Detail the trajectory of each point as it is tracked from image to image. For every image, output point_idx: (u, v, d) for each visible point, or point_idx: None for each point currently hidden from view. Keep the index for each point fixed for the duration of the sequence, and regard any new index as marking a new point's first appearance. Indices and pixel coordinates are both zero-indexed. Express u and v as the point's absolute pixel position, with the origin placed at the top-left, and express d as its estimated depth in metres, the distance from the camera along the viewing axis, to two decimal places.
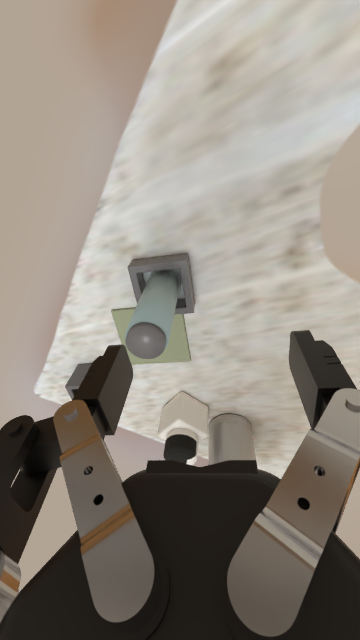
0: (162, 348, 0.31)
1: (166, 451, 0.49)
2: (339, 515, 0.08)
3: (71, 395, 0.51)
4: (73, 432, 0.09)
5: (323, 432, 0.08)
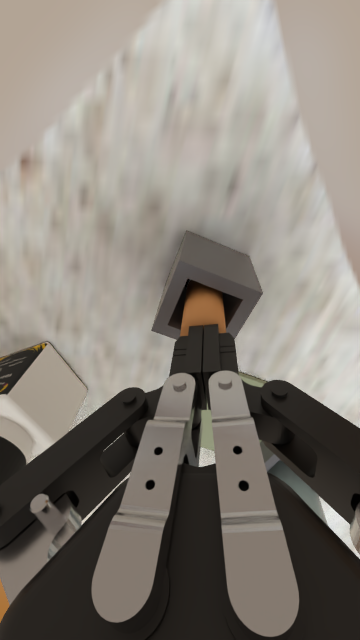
0: None
1: None
2: None
3: (221, 283, 0.15)
4: (191, 401, 0.10)
5: (219, 418, 0.09)
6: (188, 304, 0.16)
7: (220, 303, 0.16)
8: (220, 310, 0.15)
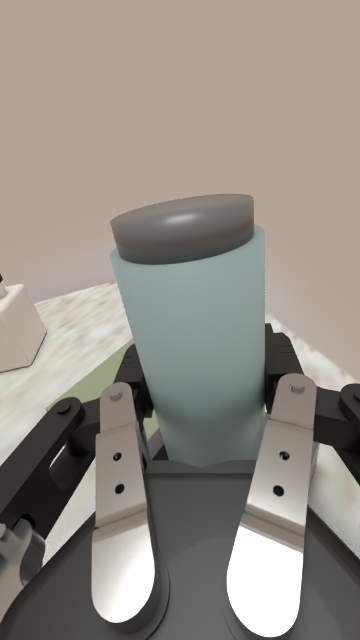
0: (123, 224, 0.08)
1: None
2: None
3: None
4: (122, 411, 0.10)
5: (278, 419, 0.08)
6: None
7: None
8: None
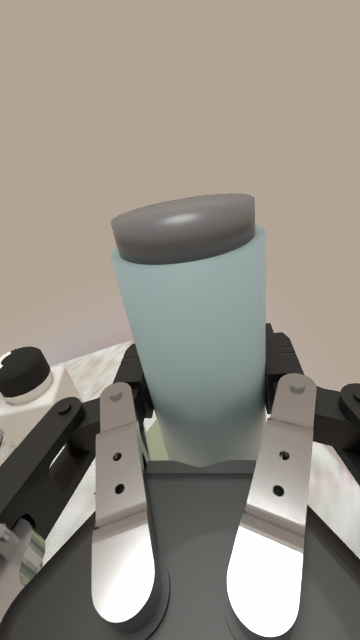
0: (123, 223, 0.08)
1: (39, 355, 0.33)
2: None
3: None
4: (122, 411, 0.10)
5: (278, 419, 0.08)
6: None
7: None
8: None
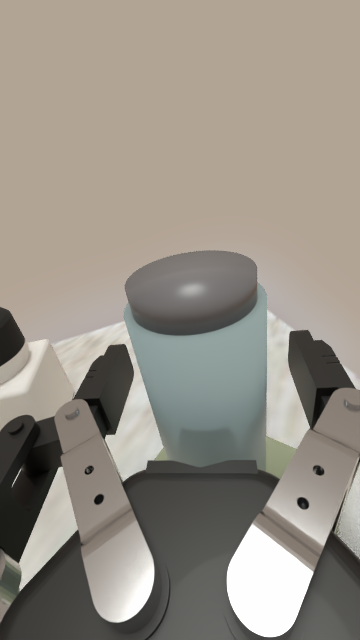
0: (137, 295, 0.09)
1: (6, 317, 0.21)
2: (338, 514, 0.08)
3: None
4: (74, 431, 0.09)
5: (322, 432, 0.08)
6: None
7: None
8: None
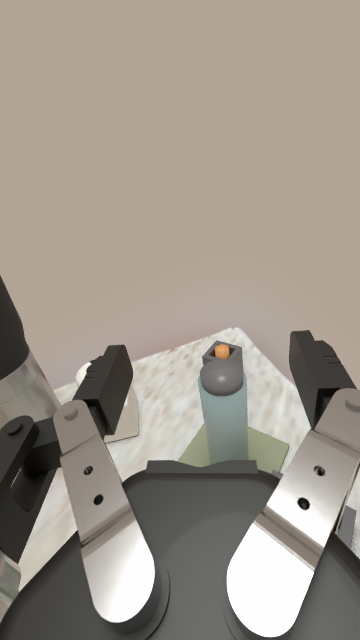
0: (206, 382, 0.28)
1: None
2: (339, 515, 0.08)
3: (228, 345, 0.49)
4: (73, 432, 0.09)
5: (323, 432, 0.08)
6: None
7: None
8: None
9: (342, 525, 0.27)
